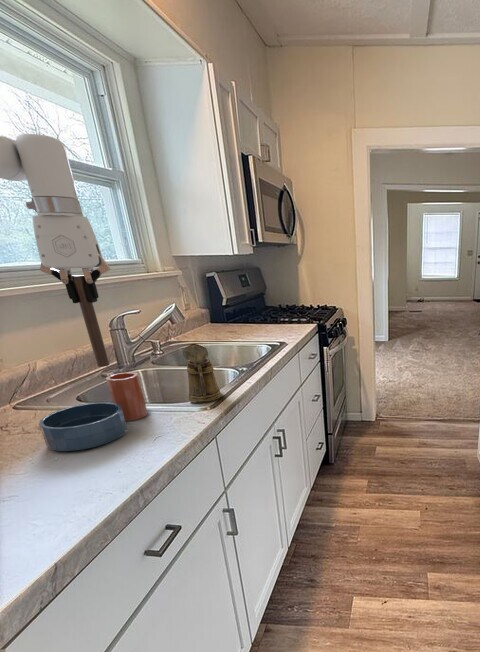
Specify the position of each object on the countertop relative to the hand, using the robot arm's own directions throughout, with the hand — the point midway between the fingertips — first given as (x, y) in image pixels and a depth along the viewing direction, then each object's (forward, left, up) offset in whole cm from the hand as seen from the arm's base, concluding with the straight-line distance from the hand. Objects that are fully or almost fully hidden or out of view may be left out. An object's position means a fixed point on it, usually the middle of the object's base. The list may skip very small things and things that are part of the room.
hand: (85, 301), depth 88 cm
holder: (+1, +6, -30) cm, 31 cm away
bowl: (-5, -6, -30) cm, 31 cm away
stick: (0, 0, -15) cm, 15 cm away
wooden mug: (+18, +13, -30) cm, 38 cm away
